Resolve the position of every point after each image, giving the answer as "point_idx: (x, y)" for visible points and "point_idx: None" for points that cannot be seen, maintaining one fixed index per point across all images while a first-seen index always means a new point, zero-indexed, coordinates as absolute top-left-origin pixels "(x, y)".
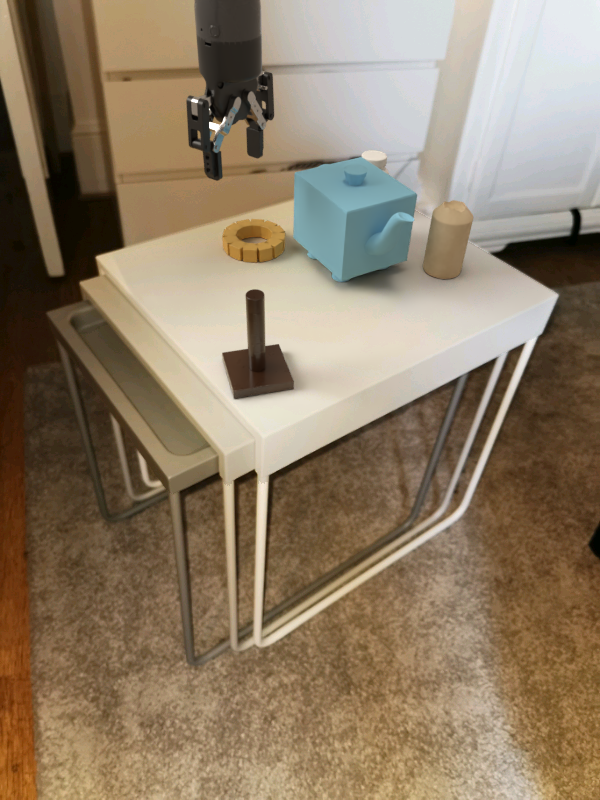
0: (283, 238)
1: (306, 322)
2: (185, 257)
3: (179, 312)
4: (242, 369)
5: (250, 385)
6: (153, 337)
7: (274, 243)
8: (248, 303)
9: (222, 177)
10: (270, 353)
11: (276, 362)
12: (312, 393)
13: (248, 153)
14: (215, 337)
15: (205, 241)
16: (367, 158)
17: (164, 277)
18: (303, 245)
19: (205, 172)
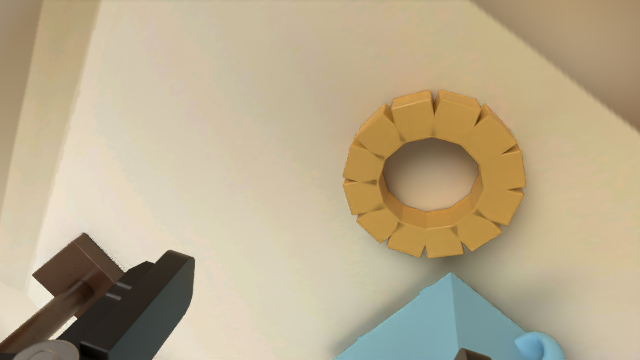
0: (432, 256)
1: (224, 316)
2: (308, 24)
3: (130, 120)
4: (66, 275)
5: (52, 290)
6: (53, 110)
7: (400, 243)
8: None
9: (185, 311)
10: None
11: None
12: None
13: (461, 355)
14: (116, 205)
15: (408, 35)
16: None
17: (207, 22)
18: (415, 300)
19: (132, 271)
